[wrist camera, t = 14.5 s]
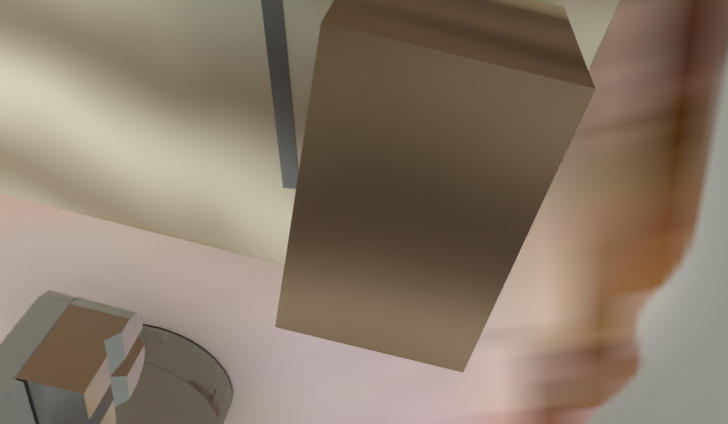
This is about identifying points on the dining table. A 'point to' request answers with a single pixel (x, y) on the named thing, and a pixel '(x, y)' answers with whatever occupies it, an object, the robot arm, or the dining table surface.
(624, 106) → the dining table surface
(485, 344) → the dining table surface
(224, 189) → the board
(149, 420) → the thermos bottle
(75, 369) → the robot arm
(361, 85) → the block
